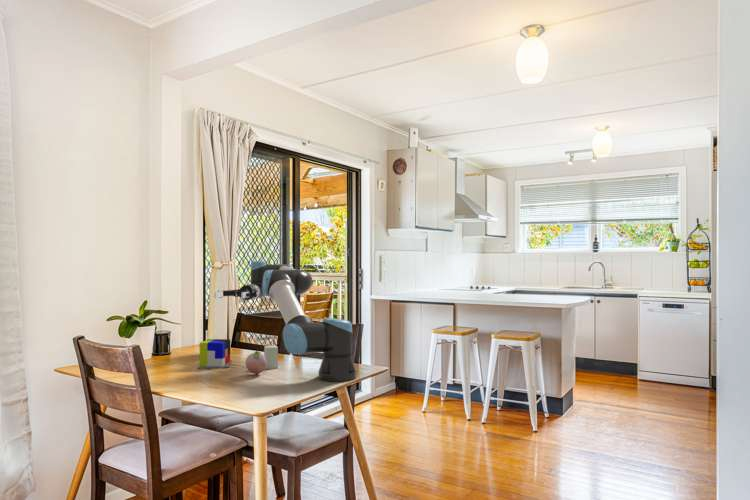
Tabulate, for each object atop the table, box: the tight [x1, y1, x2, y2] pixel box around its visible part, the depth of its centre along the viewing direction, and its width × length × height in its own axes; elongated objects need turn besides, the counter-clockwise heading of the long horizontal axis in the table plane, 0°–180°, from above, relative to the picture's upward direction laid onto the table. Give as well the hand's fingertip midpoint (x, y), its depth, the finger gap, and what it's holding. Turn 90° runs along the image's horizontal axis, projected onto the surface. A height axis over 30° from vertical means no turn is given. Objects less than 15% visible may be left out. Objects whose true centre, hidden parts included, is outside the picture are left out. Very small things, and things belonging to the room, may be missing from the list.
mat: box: [197, 359, 233, 370], centre depth 224 cm, size 13×13×1 cm
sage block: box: [263, 344, 279, 370], centre depth 220 cm, size 5×5×9 cm
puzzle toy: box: [199, 338, 231, 366], centre depth 224 cm, size 10×10×10 cm
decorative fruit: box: [245, 349, 267, 376], centre depth 206 cm, size 9×8×10 cm
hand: (228, 295), depth 236 cm, fingers open, 13 cm apart
